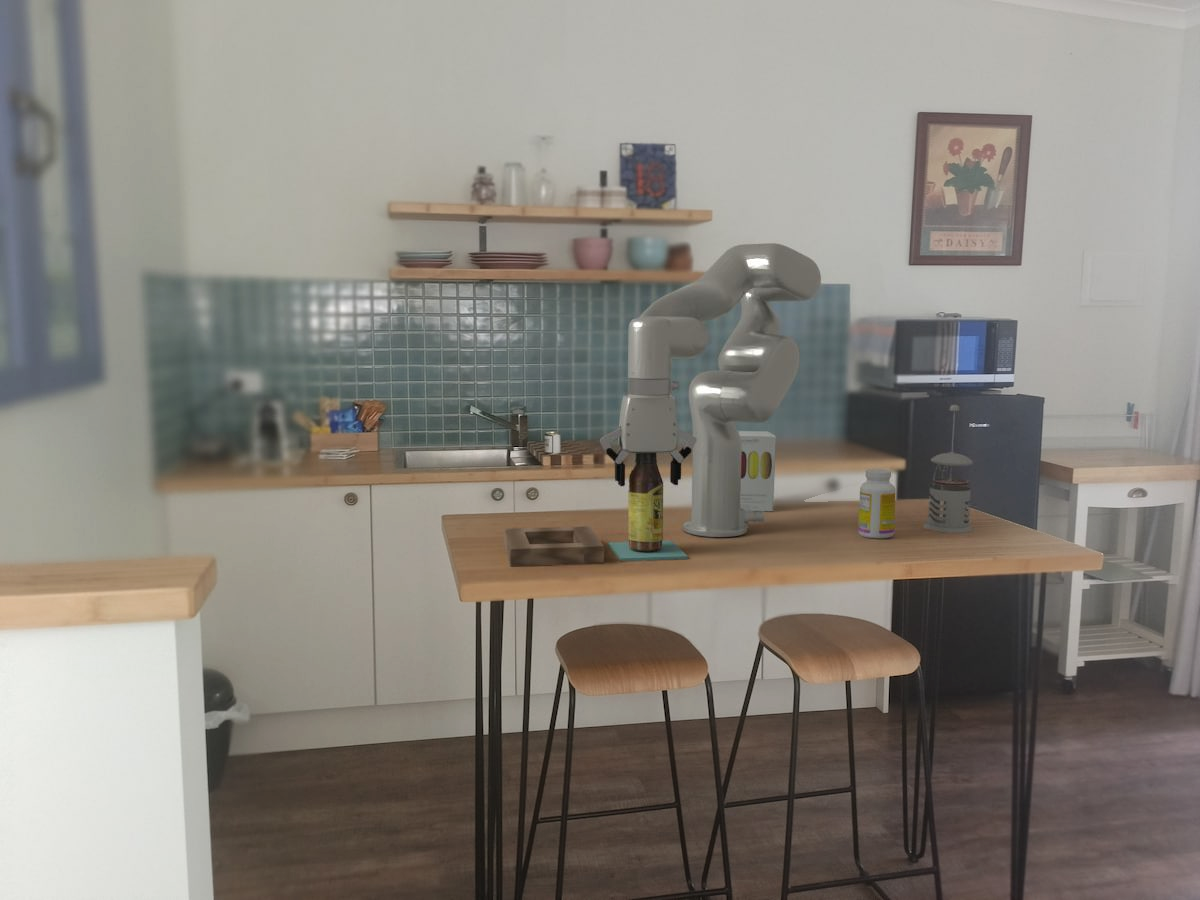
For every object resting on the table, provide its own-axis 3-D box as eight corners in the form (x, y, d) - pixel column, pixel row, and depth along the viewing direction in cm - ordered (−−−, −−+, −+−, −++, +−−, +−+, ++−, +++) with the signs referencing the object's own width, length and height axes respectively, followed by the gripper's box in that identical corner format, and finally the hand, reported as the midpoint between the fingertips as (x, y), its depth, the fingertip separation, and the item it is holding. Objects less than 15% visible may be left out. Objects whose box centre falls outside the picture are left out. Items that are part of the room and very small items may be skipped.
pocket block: (589, 541, 184) (589, 526, 183) (604, 563, 168) (604, 546, 167) (504, 544, 181) (504, 528, 181) (510, 566, 165) (510, 549, 165)
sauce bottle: (660, 553, 172) (661, 441, 170) (625, 552, 174) (625, 440, 171) (665, 545, 179) (665, 437, 176) (631, 544, 180) (631, 436, 177)
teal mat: (671, 543, 183) (671, 540, 183) (687, 558, 171) (687, 556, 171) (608, 545, 181) (608, 542, 181) (620, 561, 169) (620, 558, 169)
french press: (932, 532, 193) (939, 406, 190) (912, 520, 205) (918, 401, 202) (981, 532, 194) (989, 407, 190) (958, 520, 205) (965, 401, 202)
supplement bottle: (896, 534, 192) (899, 469, 190) (890, 541, 186) (894, 474, 184) (861, 530, 195) (864, 466, 193) (855, 537, 189) (857, 471, 187)
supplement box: (730, 512, 213) (732, 435, 210) (724, 503, 222) (725, 430, 219) (774, 512, 213) (777, 435, 211) (766, 503, 222) (768, 430, 220)
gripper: (691, 386, 177) (689, 480, 180) (597, 387, 174) (596, 482, 177) (702, 389, 170) (700, 487, 172) (604, 390, 167) (603, 489, 169)
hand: (647, 484), depth 175 cm, fingers open, 9 cm apart
